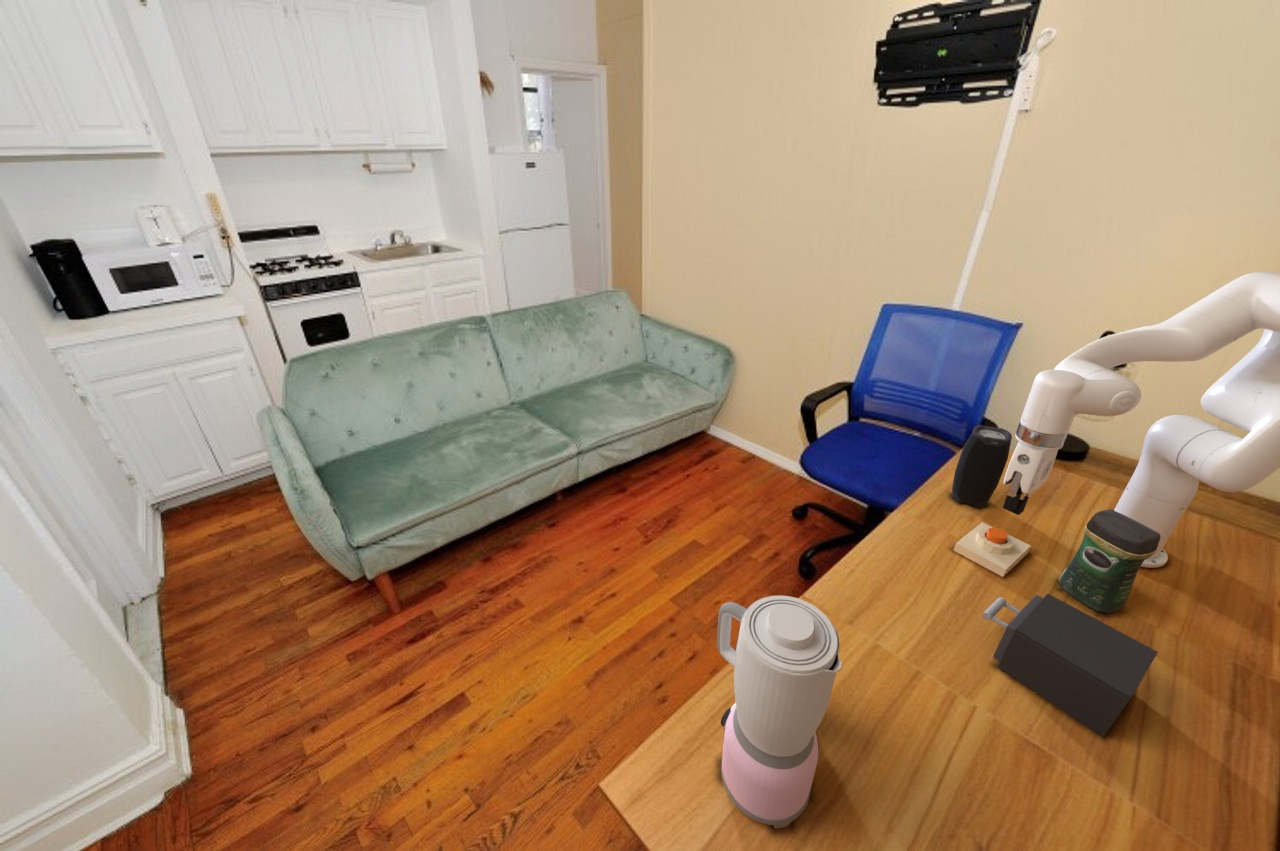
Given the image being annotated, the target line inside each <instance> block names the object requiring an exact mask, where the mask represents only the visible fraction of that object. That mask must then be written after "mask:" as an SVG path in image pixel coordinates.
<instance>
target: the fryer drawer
mask: <svg viewBox="0 0 1280 851" xmlns="http://www.w3.org/2000/svg"><path fill="white" fill-rule="evenodd" d="M1043 598H1044V597H1042V596H1040V595H1038V594H1035V595H1034V596H1033V597H1032V598H1031V599H1030V601H1029V602H1028V603H1027V604H1026V605H1025V606H1024V607H1023V608H1022V609H1019V608H1017V607H1015V606H1013V605H1012V604H1010V603H1008V602H1007V600H1006V599H1005V598H1004V597H1003V596H1000V597H998V598H996V600H994V602H992V603H991V604H990V606H988V607H987V609H985V610H984V611H983V613H982V617H983V619H985V620H987V621H993V622H994V623H996V624H998V625H1000V626H1001V627H1003V628H1004V632H1003V634H1002V636H1001V638H1000V640H999V643H998V645H997V647H996V649H995V651H994V653H993V655H992V658H994V659H996V660H997V661H999V662H1000V660H1001V658H1002V656H1003V654H1004V652H1005V650H1006V648H1007V646H1008V644H1009V641H1010V639H1011V637H1012V635H1013V633H1014V631H1015V629H1016V628H1017V627H1018V625H1019V624H1020V623H1021V622H1022V621H1023V620H1024V619H1025V618H1026V617H1027V615H1028V614H1029V613H1030V612H1031V611H1032V610H1033V609H1034V608H1035V607H1036V606H1037V604H1038V603H1039V602H1040V601H1041V600H1042V599H1043ZM1003 608H1006V609H1008V610H1010V611H1012V613H1015V614H1017V615H1016V616H1014V618H1012V620H1011V621H1010V622H1009V623H1007V622H1005V621H1003V620H1002V619H1000V618H998V617H997V616H996V615H997V614H998V613H999V612H1000V611H1001V610H1002V609H1003Z"/></svg>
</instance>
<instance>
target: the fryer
mask: <svg viewBox="0 0 1280 851" xmlns="http://www.w3.org/2000/svg"><path fill="white" fill-rule="evenodd" d="M1042 598H1043V599H1042V600H1041V601H1040V602H1039V603H1038V604H1037V606H1036V607H1035V608H1034V609H1033V610H1032V611H1031V612H1030V613H1029V614H1028V615H1027V617H1026V618H1025V619H1024V620H1023V621H1022V622H1021V623H1020V624H1019V625H1018V627H1017V628H1016V629H1015V631H1014V633H1013V635H1012V637H1011V639H1010V641H1009V644H1008V646H1007V648H1006V650H1005V652H1004V654H1003V656H1002V658H1001V660H1000V661H999V662H998V664H997V668H998V669H999V670H1001V671H1002V672H1004V673H1005V674H1007V675H1009V676H1010V677H1011V678H1013V679H1014V680H1016V681H1018V682H1019V683H1020V684H1022V685H1024V686H1025V687H1026V688H1028V689H1029V690H1031V691H1032V692H1034V693H1036V694H1037V695H1038V696H1039V697H1041V698H1044V699H1045V701H1047V702H1048V703H1051V704H1052V705H1053V706H1055V707H1056V708H1058V709H1059V710H1061V711H1062V712H1064V713H1066V714H1067V715H1069V716H1070V717H1072V718H1073V719H1075V720H1076V721H1078V722H1079V723H1081V724H1082V725H1084V726H1085V727H1086V728H1088V729H1090V730H1091V731H1093V732H1094V733H1096V734H1098V736H1100V737H1102V738H1104V737H1105V736H1106V734H1107V733H1108V732H1109V730H1110V729H1111V728H1112V726H1113V724H1114V723H1115V722H1116V720H1117V719H1118V717H1119V716H1120V714H1121V713H1122V712H1123V710H1124V709H1125V708H1126V706H1127V704H1128V703H1129V702H1130V700H1131V699H1132V698H1133V696H1134V694H1135V693H1136V691H1137V689H1138V688H1139V686H1140V684H1141V682H1142V680H1143V678H1145V675H1146V674H1147V672H1148V670H1149V669H1150V667H1151V665H1152V663H1153V662H1154V661H1155V658H1156V656H1157V655H1158V653H1159V651H1158V650H1155V649H1154V648H1151V647H1150V646H1148V645H1146V644H1144V643H1142V642H1140V641H1138V640H1136V639H1134V638H1133V637H1131V636H1129V635H1127V634H1126V633H1123V632H1122V631H1119V630H1118V629H1116V628H1114V627H1112V626H1110V625H1108V624H1107V623H1105V622H1102V621H1100V620H1098V619H1097V618H1095V617H1093V616H1091V615H1090V614H1088V613H1085V612H1083V611H1082V610H1080V609H1079V608H1076V607H1074V606H1072V605H1071V604H1068V603H1067V602H1065V601H1062V600H1061V599H1060V598H1057V597H1055V596H1053V595H1052V594H1049V593H1047V594H1045V595H1044V596H1043V597H1042Z"/></svg>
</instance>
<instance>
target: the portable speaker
mask: <svg viewBox="0 0 1280 851" xmlns="http://www.w3.org/2000/svg"><path fill="white" fill-rule="evenodd" d="M1012 438H1013V435H1012V433H1011V432H1010V431H1009V430H1007V429H1004V428H1002V427H995V426H994V427H993V426H987V425H982V424H976V425H975V426H974V427H973V428H972V431H971V434H970V435H969V437H968V438H967V441H966V442H965V444H964V445H963V447H962V450H961V453H960V455H959V458H958V462H957V465H956V467H955V470H954V474H953V481H952V487H951V499H952V500H954V501H955V502H956V503H957V504H961V503H963V504H964V503H965V504H967V505H969V506H974V508H975V509H983V508H985V507H986V506H987V504H988V502H989V501H990V499H991V498H992V496H993V494H994V493H995V491H996V489H997V487H998V485H999V483H1000V482H1001V478H1002V476H1003V473H1004V471H1005V467H1006V465H1007V462H1008V460H1009V456H1010V450H1011V443H1012Z"/></svg>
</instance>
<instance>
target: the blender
mask: <svg viewBox="0 0 1280 851" xmlns="http://www.w3.org/2000/svg"><path fill="white" fill-rule="evenodd" d="M718 611H719V612H718V617H717V632H716V633H717V634H716V645H717V646H716V647H717V650H718V652H719V654H720V655H721V657H722V658H723V659H724V660H725V661H726V662H728V664H730V665H731V666H732V667H733V692H734V700H735V703H734V704H733V705H732V706H731V707H728V708H727V709H726V710H725V711H724V713H723V714H722V716H721V719H720V725H721V726H722V727H723V732H724V735H723V744H722V757H721V765H720V766H721V767H720V771H721V779H722V783H723V786H724V789H725V791H726V793H727V795H728V797H729V798H730V800H731V802H732V803H733V804H734V805H735V806H736V808H737V809H738V810H739V811H740V812H741V813H742V814H744V815H745V816H747V817H748V818H750V819H752V820H753V821H756V822H758V823H760V824H764V825H768V826H773V827H774V829H782V828H786V827H789V826H790V825H791V823H792V822H793V821H795V820H796V819H798V818H799V817H800V816H801V814H803V812H804V811H805V809H806V807H807V805H808V803H809V800H810V798H811V797H810V796H811V792H812V785H813V781H814V778H815V773H816V770H817V765H818V760H819V742H818V737H817V733H816V732H817V729H818V728H819V726H820V724H821V723H822V720H823V719H824V716H825V714H826V712H827V709H828V707H829V705H830V704H829V703H830V700H831V696H832V691H833V687H834V684H835V680H836V675H837V672H839V671H842V666H843V663H842V661H841V659H840V650H841V649H840V648H841V641H840V636H839V634H838V631H837V629H836V627H835V625H834V623H833V622H832V621H831V620H830V618H829V617H828V616H827V615H826V613H824V612H823V611H821V610H820V609H819V608H818V607H816V606H815V605H813V604H812V603H810V602H808V601H806V600H803V599H801V598H798V597H794V596H790V595H780V594H779V595H770V596H765V597H762V598H759V599H758V600H755V601H754V602H753V603H751V604H749V607H747V608H746V607H744V606H742V605H741V604H738V603H737V602H734V601H729V602H724V603H723V604H722V605H721V606H720V608H719V610H718ZM733 618H734V619H735V620H737V621H738V622H740V627H739V632H738V637H737V642H736V648H735V649H734V648H733V647H732V646H731V631H732V623H733V622H732V621H733Z"/></svg>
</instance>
